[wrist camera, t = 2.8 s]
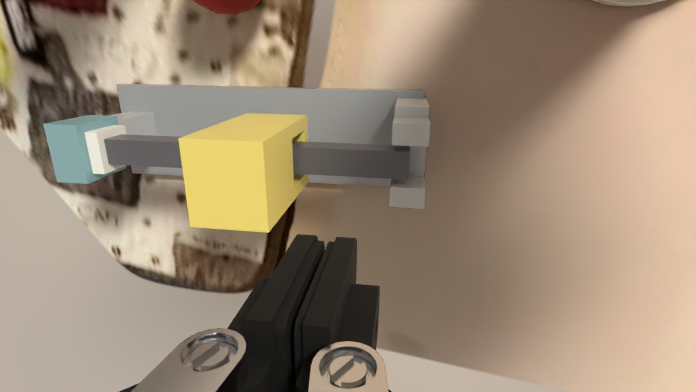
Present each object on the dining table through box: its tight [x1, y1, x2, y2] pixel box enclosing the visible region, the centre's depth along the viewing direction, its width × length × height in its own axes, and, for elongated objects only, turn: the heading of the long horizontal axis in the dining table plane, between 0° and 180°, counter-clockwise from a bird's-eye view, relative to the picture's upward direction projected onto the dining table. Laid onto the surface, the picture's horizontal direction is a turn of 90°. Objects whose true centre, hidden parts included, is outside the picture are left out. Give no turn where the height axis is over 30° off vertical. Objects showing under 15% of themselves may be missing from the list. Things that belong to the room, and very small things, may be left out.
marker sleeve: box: [178, 113, 309, 233], centre depth 23 cm, size 4×4×8 cm
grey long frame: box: [43, 84, 431, 209], centre depth 27 cm, size 23×7×8 cm, turn 89°
